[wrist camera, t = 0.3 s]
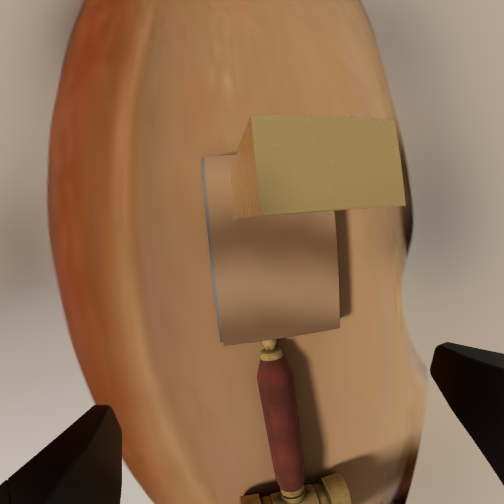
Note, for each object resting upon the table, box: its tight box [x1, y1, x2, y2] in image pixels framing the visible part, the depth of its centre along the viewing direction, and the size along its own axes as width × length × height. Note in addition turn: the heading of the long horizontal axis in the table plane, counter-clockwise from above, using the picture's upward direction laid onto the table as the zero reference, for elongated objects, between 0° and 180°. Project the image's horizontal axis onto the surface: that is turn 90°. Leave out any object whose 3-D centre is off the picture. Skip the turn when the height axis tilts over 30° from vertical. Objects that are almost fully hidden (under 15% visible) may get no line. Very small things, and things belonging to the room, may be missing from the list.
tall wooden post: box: [230, 115, 405, 219], centre depth 14 cm, size 3×5×10 cm
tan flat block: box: [202, 154, 340, 346], centre depth 20 cm, size 12×8×2 cm
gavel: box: [239, 339, 352, 504], centre depth 21 cm, size 21×5×10 cm
